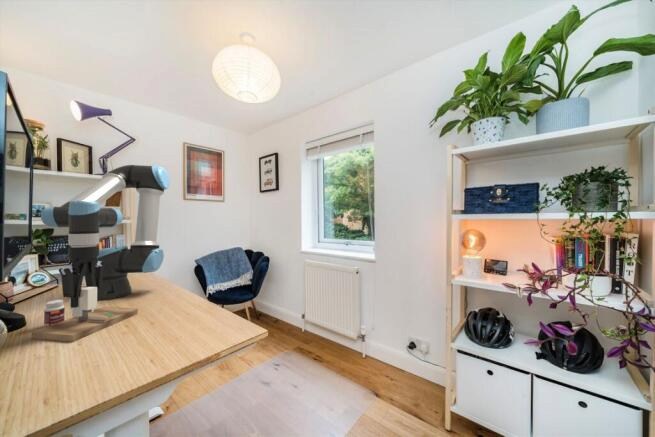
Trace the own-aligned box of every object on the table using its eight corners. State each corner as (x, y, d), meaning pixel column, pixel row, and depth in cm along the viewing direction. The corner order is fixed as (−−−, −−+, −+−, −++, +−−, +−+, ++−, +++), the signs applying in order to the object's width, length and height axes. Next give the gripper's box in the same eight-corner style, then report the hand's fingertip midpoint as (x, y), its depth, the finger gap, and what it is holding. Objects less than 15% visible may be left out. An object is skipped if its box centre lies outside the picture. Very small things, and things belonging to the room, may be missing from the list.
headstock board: (104, 311, 98) (104, 306, 98) (137, 313, 96) (137, 308, 96) (31, 338, 76) (31, 331, 76) (73, 341, 74) (73, 334, 74)
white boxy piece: (79, 317, 86) (79, 286, 86) (109, 320, 85) (110, 287, 85) (69, 321, 83) (69, 288, 83) (100, 323, 82) (101, 290, 82)
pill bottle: (50, 329, 82) (50, 304, 82) (40, 328, 83) (40, 303, 83) (68, 323, 87) (68, 299, 87) (58, 322, 88) (58, 298, 88)
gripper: (97, 243, 92) (96, 305, 92) (45, 248, 76) (44, 323, 76) (116, 243, 92) (115, 305, 92) (67, 249, 76) (67, 324, 76)
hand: (83, 313), depth 84 cm, fingers closed on white boxy piece, 3 cm apart
